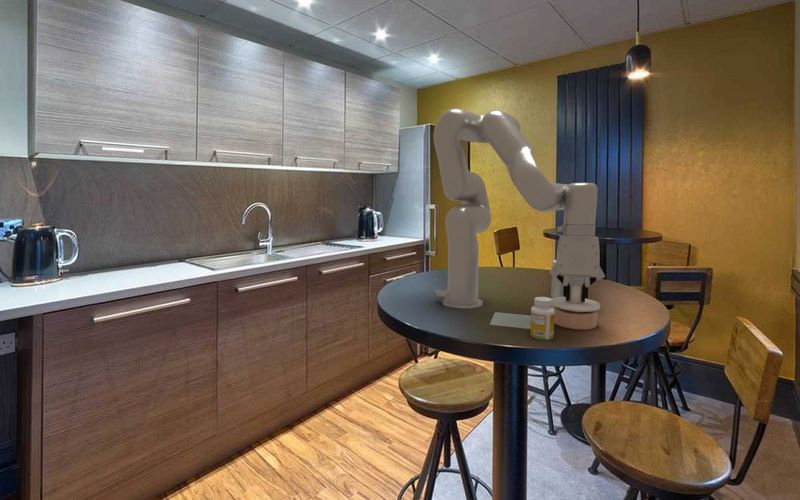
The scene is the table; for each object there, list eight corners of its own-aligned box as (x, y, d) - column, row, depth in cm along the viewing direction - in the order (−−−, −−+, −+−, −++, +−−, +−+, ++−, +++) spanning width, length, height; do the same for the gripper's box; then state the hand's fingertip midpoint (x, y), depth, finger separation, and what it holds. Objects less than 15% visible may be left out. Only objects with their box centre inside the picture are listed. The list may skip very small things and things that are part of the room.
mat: (489, 326, 103) (489, 324, 103) (495, 314, 114) (495, 312, 114) (537, 331, 99) (537, 329, 99) (538, 318, 110) (538, 316, 110)
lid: (550, 309, 100) (551, 288, 99) (550, 297, 111) (551, 279, 110) (603, 313, 96) (604, 292, 95) (597, 301, 107) (598, 282, 106)
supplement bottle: (546, 333, 98) (548, 295, 97) (557, 341, 93) (559, 301, 91) (526, 334, 97) (527, 296, 96) (536, 342, 92) (537, 301, 91)
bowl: (553, 328, 101) (553, 312, 101) (552, 317, 111) (553, 302, 110) (598, 333, 97) (599, 316, 97) (593, 321, 107) (594, 305, 107)
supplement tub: (590, 310, 118) (593, 262, 116) (572, 315, 113) (574, 265, 111) (562, 303, 126) (564, 258, 124) (543, 307, 121) (545, 260, 119)
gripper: (544, 231, 100) (541, 301, 103) (617, 233, 95) (612, 306, 97) (545, 229, 107) (542, 294, 110) (612, 230, 102) (607, 299, 104)
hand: (575, 299), depth 103 cm, fingers closed on lid, 3 cm apart
